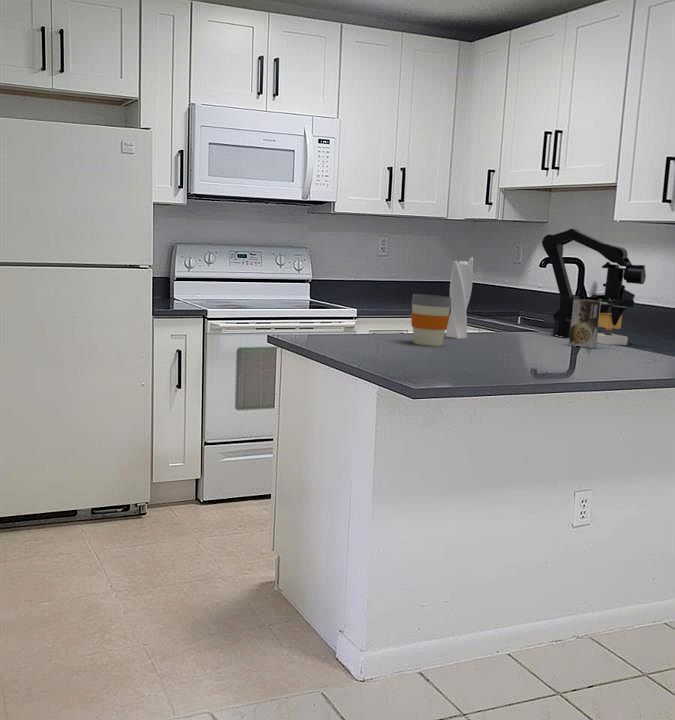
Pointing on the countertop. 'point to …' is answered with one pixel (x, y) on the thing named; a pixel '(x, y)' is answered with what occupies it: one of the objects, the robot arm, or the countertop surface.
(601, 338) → the block
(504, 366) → the countertop surface
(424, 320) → the reusable coffee cup
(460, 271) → the skyscraper
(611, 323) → the yellow short cylinder
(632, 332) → the countertop surface
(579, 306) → the coffee box
